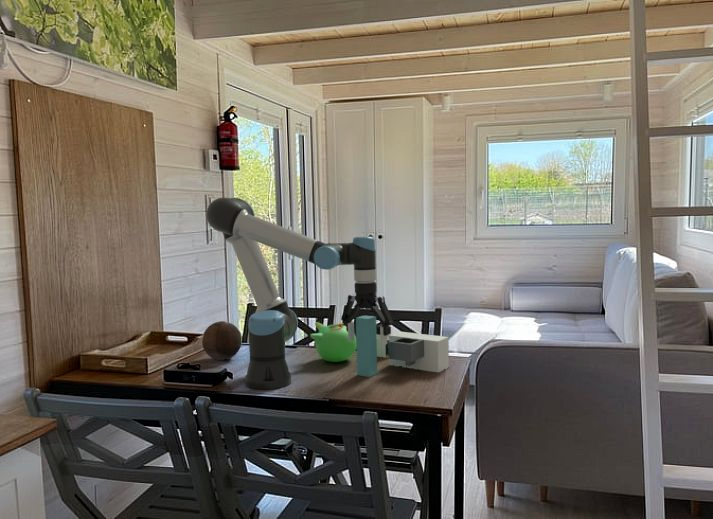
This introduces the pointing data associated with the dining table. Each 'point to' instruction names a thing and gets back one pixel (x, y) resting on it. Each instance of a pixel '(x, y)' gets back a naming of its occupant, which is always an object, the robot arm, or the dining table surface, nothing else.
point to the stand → (427, 352)
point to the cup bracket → (406, 350)
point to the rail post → (366, 346)
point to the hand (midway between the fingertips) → (367, 342)
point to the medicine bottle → (381, 350)
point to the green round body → (333, 342)
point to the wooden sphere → (221, 340)
